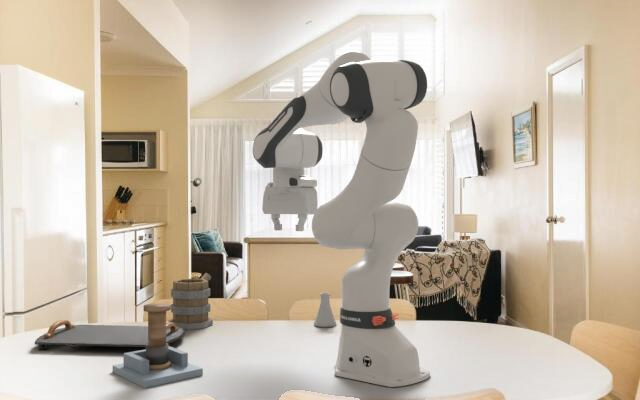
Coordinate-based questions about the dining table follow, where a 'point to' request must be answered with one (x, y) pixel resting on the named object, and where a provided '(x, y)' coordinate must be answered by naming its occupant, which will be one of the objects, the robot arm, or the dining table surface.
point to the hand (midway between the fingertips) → (288, 230)
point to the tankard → (191, 303)
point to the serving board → (103, 335)
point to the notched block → (140, 374)
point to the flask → (325, 313)
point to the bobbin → (157, 336)
